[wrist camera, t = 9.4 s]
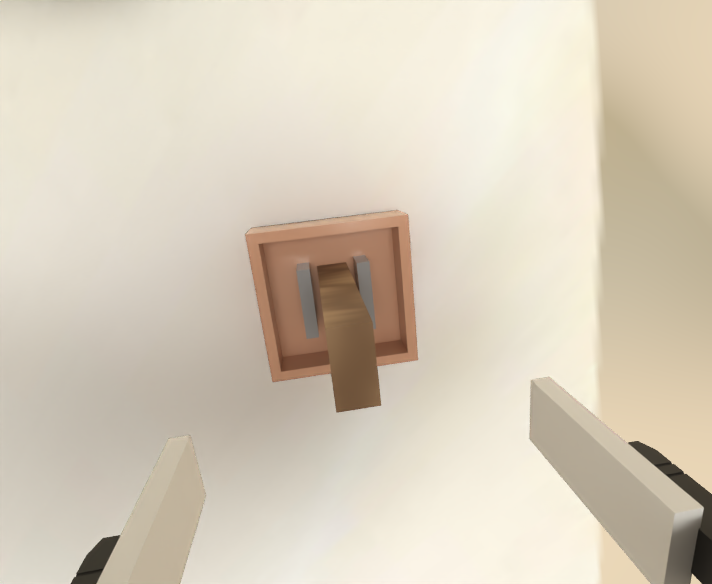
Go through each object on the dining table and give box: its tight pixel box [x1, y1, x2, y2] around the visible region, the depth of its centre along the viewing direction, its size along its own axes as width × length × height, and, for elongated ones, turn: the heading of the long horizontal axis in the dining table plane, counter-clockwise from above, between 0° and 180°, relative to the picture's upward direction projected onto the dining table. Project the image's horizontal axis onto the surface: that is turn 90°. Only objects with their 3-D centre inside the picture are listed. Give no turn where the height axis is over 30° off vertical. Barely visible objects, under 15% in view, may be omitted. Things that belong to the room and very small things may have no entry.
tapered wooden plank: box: [317, 262, 381, 412], centre depth 28 cm, size 2×5×14 cm, turn 6°
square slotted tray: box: [245, 210, 418, 382], centre depth 34 cm, size 12×12×4 cm
